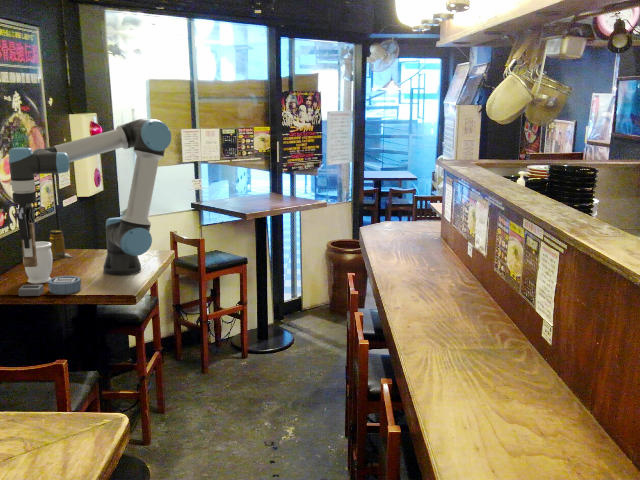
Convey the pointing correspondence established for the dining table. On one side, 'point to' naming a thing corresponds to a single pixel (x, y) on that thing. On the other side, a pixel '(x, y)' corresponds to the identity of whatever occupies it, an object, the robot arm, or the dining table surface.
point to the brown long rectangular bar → (32, 260)
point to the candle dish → (64, 285)
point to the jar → (41, 264)
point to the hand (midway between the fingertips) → (29, 255)
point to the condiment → (57, 245)
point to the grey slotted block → (31, 290)
